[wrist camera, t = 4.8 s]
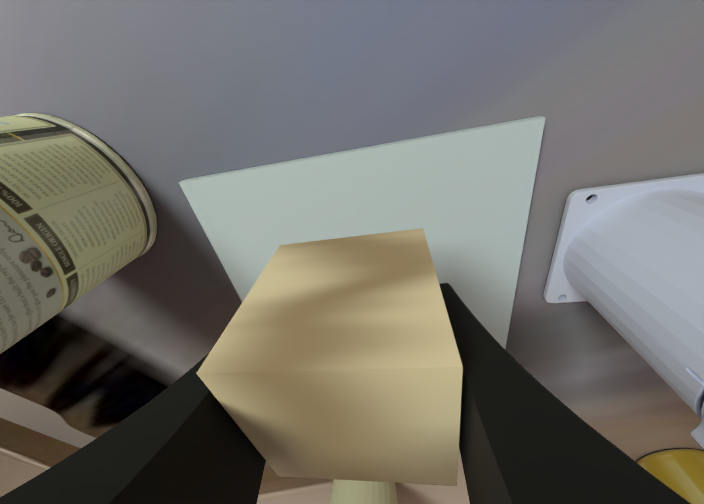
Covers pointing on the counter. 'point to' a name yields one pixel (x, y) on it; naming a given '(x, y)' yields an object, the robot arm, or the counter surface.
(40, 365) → the counter surface
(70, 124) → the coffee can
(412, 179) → the pale blue flat sheet
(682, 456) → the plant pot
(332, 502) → the reusable coffee cup
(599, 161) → the counter surface
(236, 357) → the maple block
